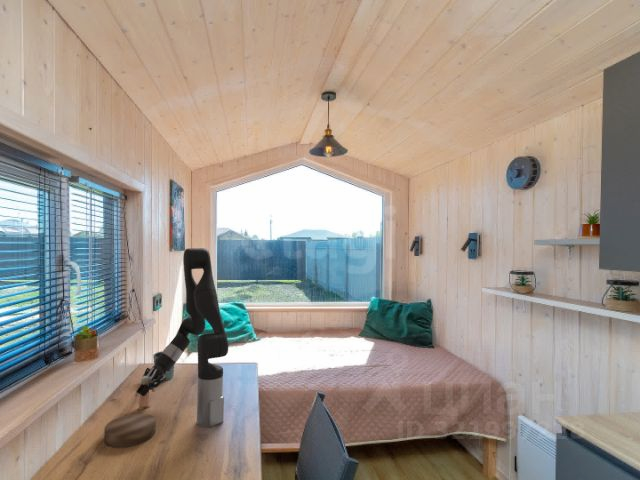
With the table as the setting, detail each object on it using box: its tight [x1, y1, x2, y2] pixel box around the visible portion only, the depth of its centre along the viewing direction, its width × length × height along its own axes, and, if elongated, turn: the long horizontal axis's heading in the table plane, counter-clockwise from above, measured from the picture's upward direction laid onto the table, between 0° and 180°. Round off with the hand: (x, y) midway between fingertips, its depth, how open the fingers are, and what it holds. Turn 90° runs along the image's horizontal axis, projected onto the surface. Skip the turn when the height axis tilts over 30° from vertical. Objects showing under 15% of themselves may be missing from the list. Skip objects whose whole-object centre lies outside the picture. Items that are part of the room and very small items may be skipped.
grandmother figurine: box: [134, 376, 156, 411], centre depth 152 cm, size 8×4×13 cm, turn 142°
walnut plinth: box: [103, 412, 157, 449], centre depth 130 cm, size 16×16×4 cm
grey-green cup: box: [152, 350, 175, 381], centre depth 185 cm, size 10×10×12 cm
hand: (140, 393), depth 150 cm, fingers closed on grandmother figurine, 2 cm apart
